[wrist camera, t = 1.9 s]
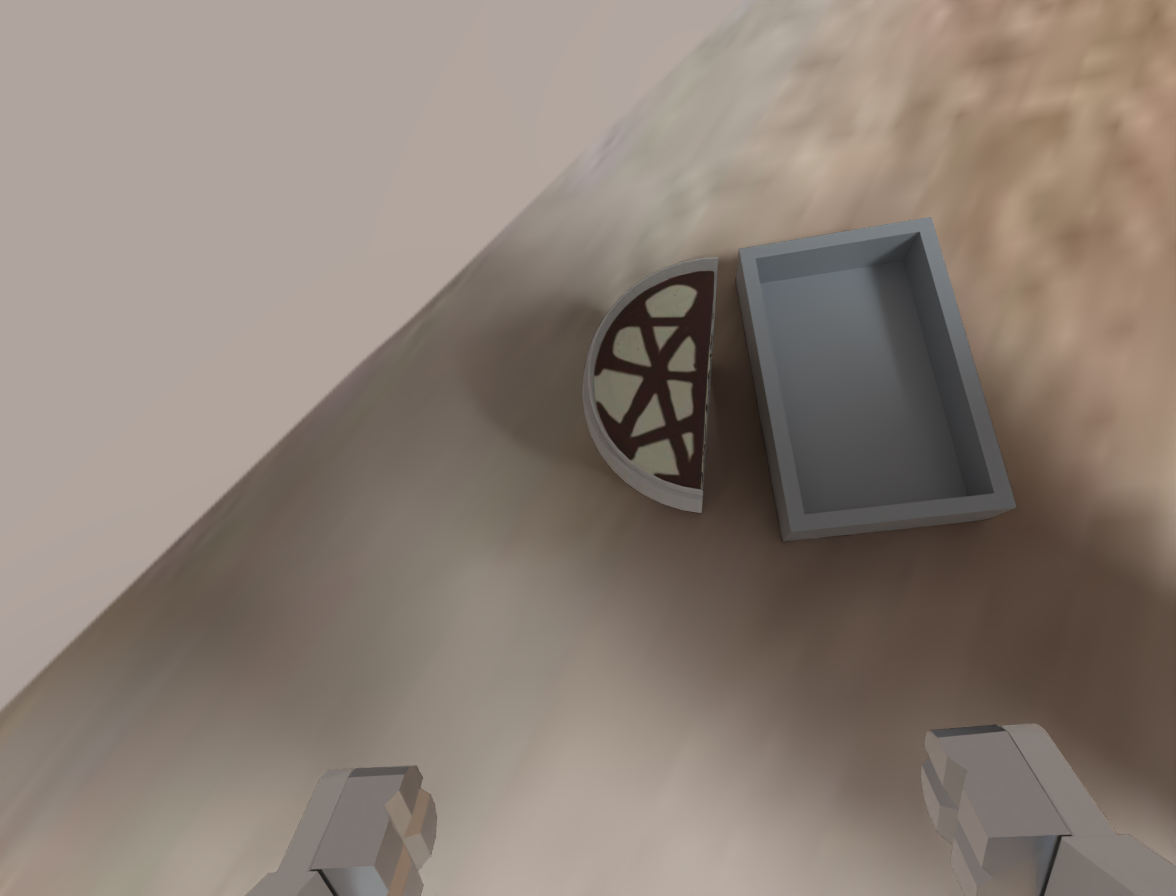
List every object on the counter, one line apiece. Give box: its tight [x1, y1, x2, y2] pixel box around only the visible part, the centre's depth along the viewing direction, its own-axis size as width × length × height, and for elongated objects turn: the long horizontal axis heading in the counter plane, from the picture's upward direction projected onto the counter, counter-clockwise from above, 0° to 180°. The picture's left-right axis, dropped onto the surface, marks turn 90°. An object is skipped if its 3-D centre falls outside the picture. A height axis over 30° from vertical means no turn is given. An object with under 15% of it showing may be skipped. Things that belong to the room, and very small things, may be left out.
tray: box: [735, 217, 1017, 542], centre depth 35 cm, size 11×17×4 cm, turn 5°
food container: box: [582, 257, 718, 513], centre depth 33 cm, size 12×6×10 cm, turn 173°
